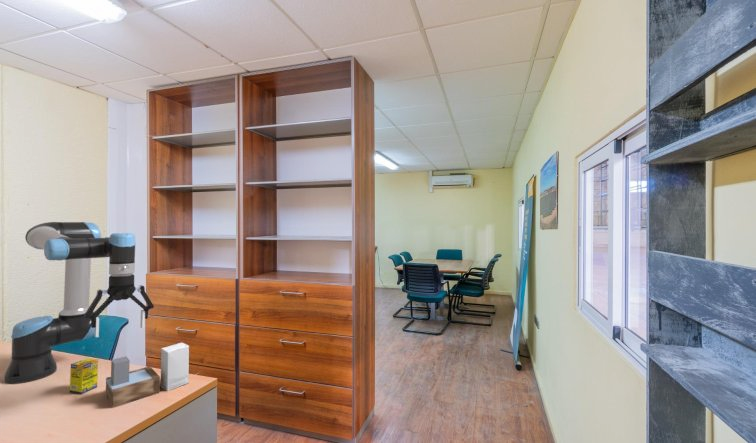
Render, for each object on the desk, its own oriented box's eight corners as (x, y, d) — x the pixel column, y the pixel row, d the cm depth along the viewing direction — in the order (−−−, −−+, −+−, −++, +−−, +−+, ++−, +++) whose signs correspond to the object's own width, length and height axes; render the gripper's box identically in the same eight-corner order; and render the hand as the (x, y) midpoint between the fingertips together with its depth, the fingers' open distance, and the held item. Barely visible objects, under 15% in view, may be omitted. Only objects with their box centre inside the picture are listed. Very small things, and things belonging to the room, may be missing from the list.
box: (149, 381, 134) (150, 366, 134) (159, 392, 126) (159, 376, 126) (105, 394, 124) (106, 377, 124) (112, 407, 115) (113, 389, 115)
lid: (144, 371, 132) (145, 349, 132) (152, 380, 125) (153, 357, 125) (106, 382, 123) (107, 358, 123) (112, 392, 116) (113, 367, 116)
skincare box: (181, 379, 137) (182, 341, 137) (189, 383, 133) (190, 345, 133) (159, 386, 130) (160, 347, 130) (166, 392, 126) (167, 351, 127)
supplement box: (81, 394, 123) (82, 365, 124) (69, 392, 125) (69, 363, 125) (98, 386, 129) (98, 359, 129) (85, 385, 130) (86, 357, 131)
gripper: (78, 279, 110) (76, 343, 110) (163, 272, 129) (162, 326, 128) (75, 277, 115) (73, 337, 115) (158, 270, 134) (156, 322, 133)
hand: (120, 331), depth 122 cm, fingers open, 13 cm apart
